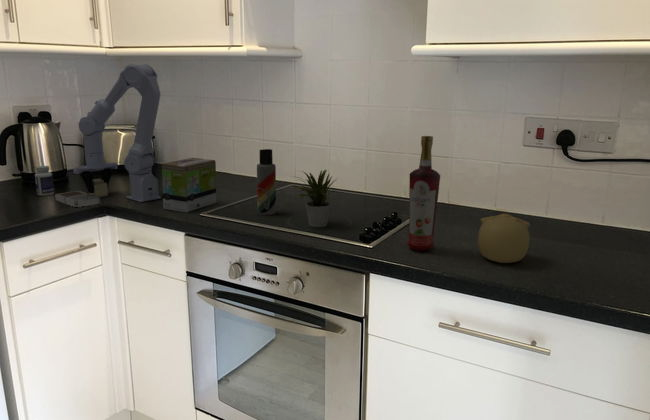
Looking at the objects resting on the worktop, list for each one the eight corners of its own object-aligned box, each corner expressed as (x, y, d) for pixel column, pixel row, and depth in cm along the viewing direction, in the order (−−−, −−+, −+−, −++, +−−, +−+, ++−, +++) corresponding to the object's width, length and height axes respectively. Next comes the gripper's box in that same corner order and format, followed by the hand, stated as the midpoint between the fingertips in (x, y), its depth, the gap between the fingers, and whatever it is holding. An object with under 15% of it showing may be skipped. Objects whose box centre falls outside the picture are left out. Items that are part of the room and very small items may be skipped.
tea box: (188, 213, 162) (185, 165, 158) (162, 209, 166) (159, 163, 162) (217, 203, 175) (216, 158, 172) (193, 199, 179) (191, 156, 176)
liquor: (438, 246, 134) (445, 135, 127) (431, 255, 127) (439, 139, 120) (409, 242, 137) (415, 134, 130) (402, 251, 130) (408, 137, 123)
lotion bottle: (259, 215, 160) (257, 150, 155) (256, 211, 165) (255, 147, 160) (277, 214, 162) (276, 149, 156) (274, 210, 167) (273, 147, 162)
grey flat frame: (100, 203, 172) (99, 197, 172) (75, 208, 166) (75, 201, 166) (79, 196, 182) (78, 190, 181) (55, 200, 176) (54, 194, 175)
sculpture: (526, 253, 129) (531, 211, 127) (527, 270, 118) (533, 224, 116) (477, 248, 133) (481, 207, 130) (474, 264, 122) (478, 219, 119)
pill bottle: (57, 192, 186) (54, 165, 184) (48, 196, 181) (45, 168, 179) (43, 192, 187) (39, 165, 184) (33, 195, 182) (30, 167, 179)
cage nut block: (108, 195, 183) (106, 180, 182) (95, 197, 180) (93, 181, 179) (101, 193, 186) (100, 178, 185) (89, 195, 183) (87, 180, 181)
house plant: (298, 215, 161) (298, 162, 157) (343, 218, 159) (345, 164, 154) (287, 228, 147) (287, 171, 143) (336, 232, 145) (337, 173, 141)
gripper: (108, 149, 187) (112, 186, 190) (67, 153, 176) (71, 193, 180) (119, 151, 183) (122, 189, 186) (77, 155, 172) (81, 196, 175)
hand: (98, 191), depth 183 cm, fingers closed on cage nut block, 4 cm apart
